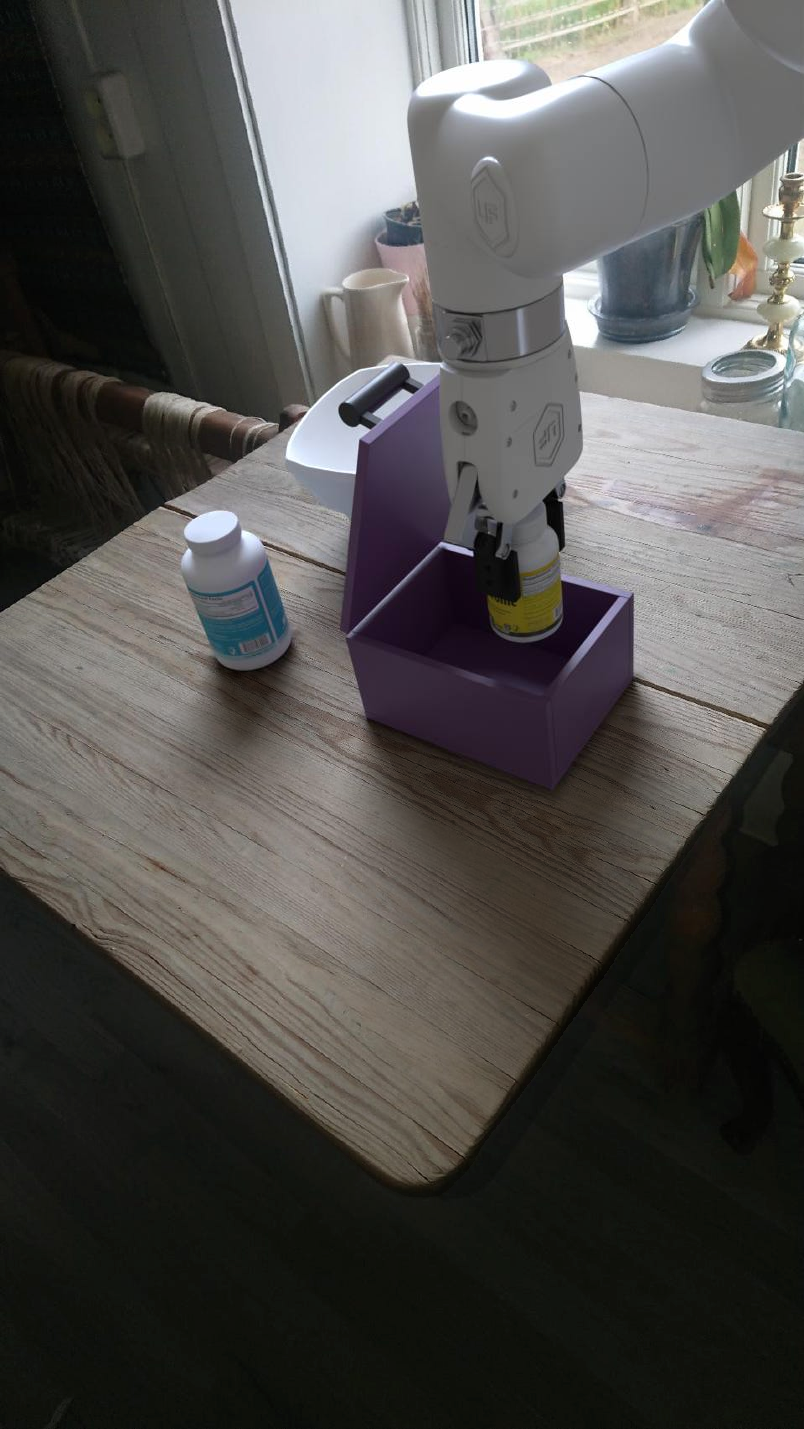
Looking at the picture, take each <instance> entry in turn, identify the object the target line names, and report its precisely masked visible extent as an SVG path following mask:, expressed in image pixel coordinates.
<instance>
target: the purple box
mask: <svg viewBox="0 0 804 1429" xmlns="http://www.w3.org/2000/svg"><path fill="white" fill-rule="evenodd" d="M560 573H561V572H560ZM561 588H562V602H563V619H562V622H561V624H560V626H559V627H558V629H557V630H556V631H555V632H554V633H552V634H551V635H549V636H548V637H546V638H543V639H541V640H538V641H533V642H526V643H520V642H513V641H509V640H507V639H504V638H502V637H501V636H499V635H498V634H497V633H496V632H495V631H494V630H493V628H492V626H491V622H490V617H489V609H488V601H487V595H486V594H483V593H481V592H480V591H479V590H478V586H477V579H476V571H475V564H474V556H473V551H469V550H467V548H464V547H462V546H459V545H456V544H452V543H448V542H441V543H440V544H439V545H438V546H437V547H436V548H435V549H434V550H433V551H432V552H431V553H430V554H429V555H428V556H427V557H426V558H425V559H424V560H423V561H422V562H421V563H420V564H419V565H417V566H416V567H415V568H414V569H413V570H412V571H411V572H410V573H409V574H408V575H407V576H406V577H405V578H404V579H403V580H402V581H401V582H400V583H399V584H398V585H397V586H396V587H395V588H394V589H393V590H392V591H391V592H390V593H389V594H388V595H387V596H386V597H385V598H384V599H383V600H382V601H381V602H380V603H379V604H378V605H377V606H376V607H375V608H374V609H373V610H372V611H371V612H370V613H369V614H368V615H367V616H366V617H365V618H364V619H363V620H362V621H361V622H360V623H359V624H358V625H357V626H356V627H355V628H354V629H353V630H352V631H351V632H350V633H349V634H348V635H347V634H346V636H345V642H346V645H347V649H348V653H349V657H350V660H351V665H352V668H353V673H354V676H355V680H356V683H357V687H358V691H359V695H360V698H361V703H362V707H363V710H364V714H365V718H367V719H370V720H372V721H374V722H377V723H379V724H382V725H384V726H387V727H390V728H392V729H395V730H396V731H400V732H401V733H405V734H407V735H410V736H412V737H415V738H418V739H420V740H422V741H426V742H428V743H430V744H433V745H436V746H438V747H440V748H443V749H446V750H448V751H450V752H454V753H456V754H459V755H462V756H464V757H465V758H469V759H472V760H474V761H476V762H479V763H482V764H484V765H486V766H489V767H492V768H494V769H496V770H500V771H502V772H504V773H507V774H510V775H512V776H515V777H517V778H519V779H522V780H525V781H527V782H530V783H532V784H535V785H537V786H540V787H543V788H545V789H548V790H550V791H554V789H555V788H556V786H557V785H558V784H559V782H560V781H561V779H562V778H563V776H564V775H565V774H566V773H567V771H568V770H569V769H570V767H571V766H572V765H573V763H574V761H575V760H576V758H577V757H578V756H579V754H580V753H581V751H582V750H583V749H584V747H585V746H586V745H587V743H588V742H589V740H590V739H591V737H593V735H594V734H595V732H596V731H597V729H598V728H599V727H600V725H601V724H602V722H603V721H604V719H606V717H607V715H608V714H609V713H610V712H611V710H612V708H613V707H614V705H615V704H616V703H617V701H618V700H619V699H620V697H621V696H622V695H623V693H624V692H625V690H626V689H627V687H628V686H629V684H630V683H631V682H632V681H633V679H634V669H635V668H634V667H635V666H634V664H635V661H634V660H635V659H634V656H635V654H634V652H635V650H634V649H635V648H634V646H635V645H634V642H635V640H634V639H635V636H634V635H635V592H633V591H630V590H626V589H622V588H618V587H614V586H611V585H606V584H603V583H599V582H595V581H591V580H587V579H584V578H580V577H576V576H573V575H569V574H565V573H561Z"/></svg>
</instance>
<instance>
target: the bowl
mask: <svg viewBox="0 0 804 1429" xmlns="http://www.w3.org/2000/svg"><path fill="white" fill-rule="evenodd" d="M402 364H403V365H404V366H405V367H406V368H407V369H408V371H409V373H410V377H411V378H413V379H414V380H416V381H418V382H420V383H422V384H424V385H425V384H427V383H428V382H429V381H430V380H431V379H433V378H434V377H435V376H436V375H437V374H439V373H440V364H441V362H413V363H412V362H411V363H402ZM389 365H390V364H385V365H378V366H372V367H365V368H360V369H358V370H356V371H354V372H352V373H351V374H349V375H347V376H346V377H344V378H343V379H340V381H338V382H337V383H336V384H334V385H333V386H332V387H331V388H330V389H329V390H328V391H327V392H325V393H324V394H323V395H322V396H321V397H320V398H319V399H318V400H317V401H316V402H315V403H314V404H313V405H312V406H311V407H310V408H309V409H308V410H307V412H305V414H304V416H303V417H302V419H300V421H299V423H298V424H297V426H296V427H295V429H294V430H293V433H292V434H291V436H290V438H289V440H288V442H287V445H286V449H285V450H286V451H285V457H284V466H285V468H286V470H287V471H288V472H289V473H290V474H291V475H293V477H294V478H295V479H297V480H298V481H299V483H300V484H301V485H302V486H304V488H305V489H306V490H307V491H308V492H309V493H310V494H311V495H312V496H313V497H314V498H315V499H316V500H317V501H318V502H319V503H320V504H321V505H322V506H324V507H325V508H327V509H329V510H332V511H335V512H337V513H341V514H344V515H345V516H346V517H347V519H348V520H349V521H351V515H352V506H353V496H354V486H355V476H356V466H357V457H358V447H359V439H360V438H361V437H363V436H364V435H365V434H366V433H367V432H369V431H370V429H368V428H366V427H365V426H363V425H361V424H359V425H358V426H357V427H349V426H348V425H346V424H345V423H344V422H343V421H342V420H341V418H340V416H339V412H338V408H339V405H340V404H341V403H342V402H343V401H345V400H346V399H347V398H348V397H350V396H351V395H352V394H354V393H355V392H356V391H357V390H359V389H360V388H361V387H362V386H364V385H365V384H366V383H368V382H369V381H370V380H371V379H373V378H374V377H375V376H377V375H378V374H379V373H380V372H382V371H383V370H384V369H385V368H387V367H388V366H389ZM412 395H413V394H411V393H409V392H408V391H406V390H404V389H402V390H401V391H400V392H399V393H397V394H396V395H395V396H394V397H393V398H391V399H390V400H389V401H388V402H386V403H385V404H384V405H383V406H382V407H380V408H379V409H378V410H377V411H375V412H374V413H373V415H375V416H377V417H379V418H381V419H382V420H383V419H384V418H386V417H387V416H388V415H389V414H390V413H392V412H393V411H394V410H395V409H396V408H398V407H399V406H400V405H401V404H402V403H404V402H405V401H406V400H407V399H408V398H410V397H411V396H412ZM451 507H452V504H451ZM450 511H451V509H450ZM449 515H450V513H449ZM448 519H449V518H448ZM442 542H444V543H447V542H446V541H445V539H444V540H443V541H442Z"/></svg>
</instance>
